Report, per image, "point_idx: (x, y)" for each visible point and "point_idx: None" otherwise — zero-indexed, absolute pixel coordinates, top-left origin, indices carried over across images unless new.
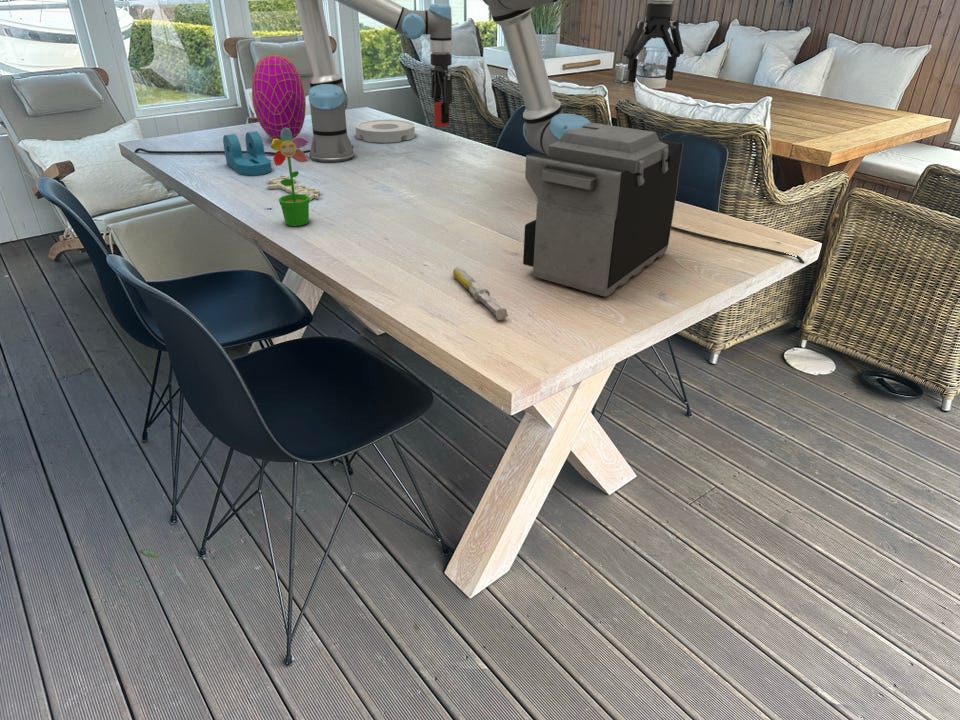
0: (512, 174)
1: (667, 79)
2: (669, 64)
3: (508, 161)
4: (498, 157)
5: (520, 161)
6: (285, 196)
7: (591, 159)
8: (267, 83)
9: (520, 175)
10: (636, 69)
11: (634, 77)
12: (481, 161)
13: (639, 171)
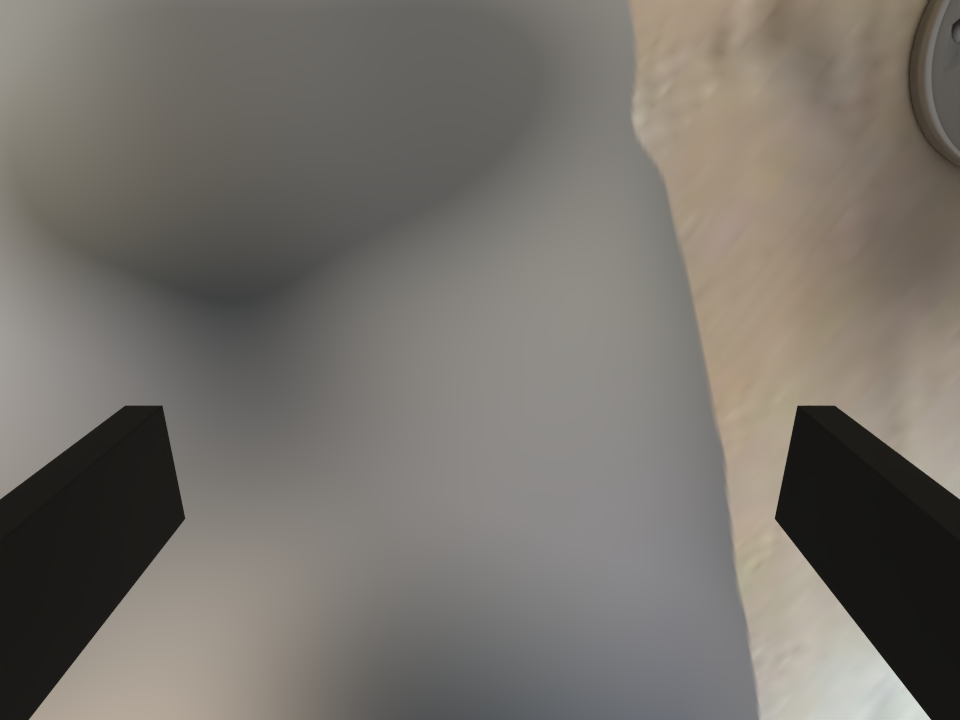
0: (941, 482)
1: (173, 466)
2: (28, 626)
3: (826, 635)
4: (822, 688)
5: (784, 621)
6: None
7: None
8: None
9: (923, 459)
10: (934, 509)
11: (867, 438)
12: None
13: None
